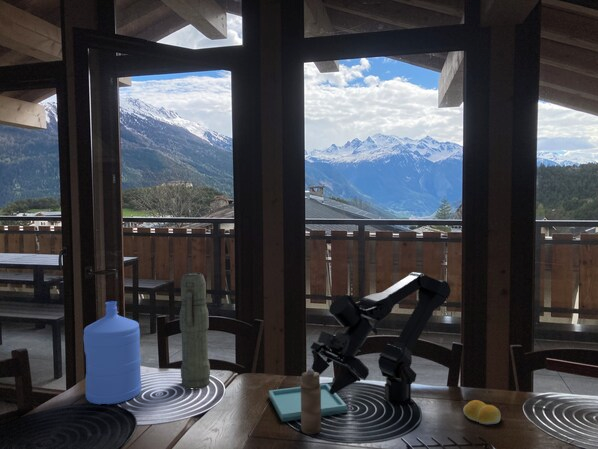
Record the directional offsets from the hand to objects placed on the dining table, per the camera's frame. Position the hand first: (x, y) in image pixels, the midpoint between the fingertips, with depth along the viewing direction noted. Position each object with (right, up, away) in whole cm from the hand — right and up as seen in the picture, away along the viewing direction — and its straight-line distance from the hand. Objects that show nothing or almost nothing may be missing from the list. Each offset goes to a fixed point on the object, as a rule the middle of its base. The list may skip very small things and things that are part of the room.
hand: (319, 387), depth 120 cm
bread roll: (+43, -10, +5) cm, 44 cm away
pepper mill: (-2, -10, -1) cm, 11 cm away
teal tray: (-3, -9, +13) cm, 17 cm away
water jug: (-61, -10, +22) cm, 65 cm away
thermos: (-38, -9, +29) cm, 49 cm away
